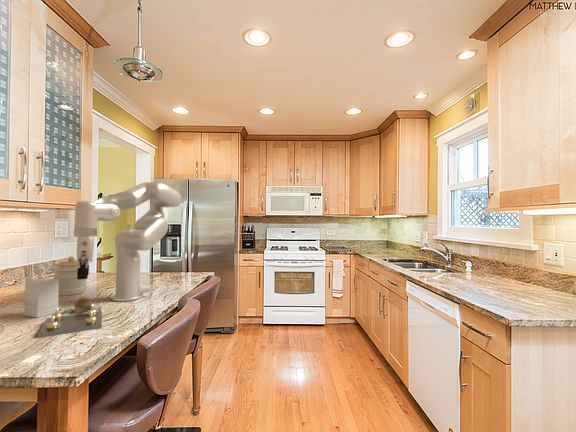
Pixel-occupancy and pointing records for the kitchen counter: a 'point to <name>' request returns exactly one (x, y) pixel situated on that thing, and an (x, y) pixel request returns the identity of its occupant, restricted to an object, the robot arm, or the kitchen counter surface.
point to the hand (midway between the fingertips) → (82, 277)
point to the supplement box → (41, 297)
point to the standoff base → (71, 323)
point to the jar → (69, 277)
